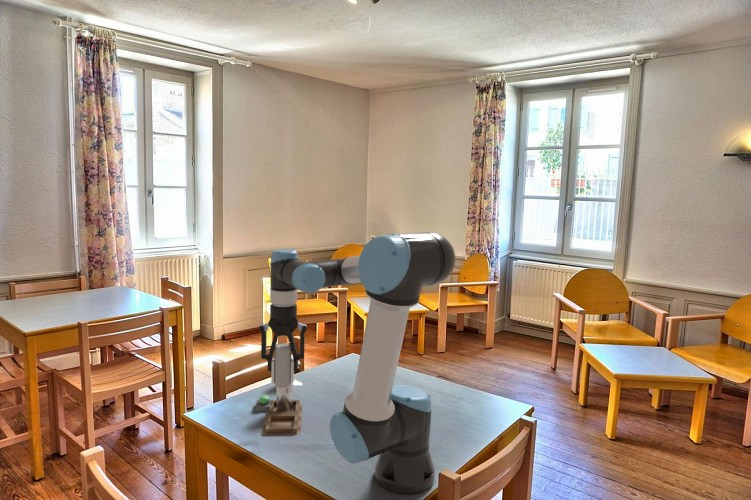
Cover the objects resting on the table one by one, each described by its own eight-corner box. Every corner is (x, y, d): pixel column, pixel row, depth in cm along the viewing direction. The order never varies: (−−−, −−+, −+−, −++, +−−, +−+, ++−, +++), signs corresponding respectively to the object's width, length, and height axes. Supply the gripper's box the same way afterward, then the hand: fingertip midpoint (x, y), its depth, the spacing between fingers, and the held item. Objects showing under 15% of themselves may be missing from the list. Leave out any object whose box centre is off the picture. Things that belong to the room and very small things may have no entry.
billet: (292, 414, 158) (292, 377, 156) (275, 414, 157) (276, 377, 155) (292, 407, 163) (293, 371, 161) (277, 407, 162) (277, 371, 160)
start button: (268, 403, 160) (269, 399, 160) (258, 403, 160) (258, 399, 159) (269, 399, 163) (270, 395, 163) (259, 399, 163) (259, 395, 163)
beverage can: (294, 385, 149) (294, 345, 147) (280, 389, 145) (281, 349, 143) (284, 380, 152) (284, 341, 150) (270, 384, 148) (271, 345, 147)
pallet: (300, 439, 146) (300, 429, 146) (248, 440, 144) (248, 430, 144) (302, 408, 166) (302, 399, 165) (257, 408, 164) (257, 399, 164)
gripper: (315, 300, 150) (313, 376, 153) (253, 300, 148) (253, 376, 151) (315, 307, 142) (313, 386, 146) (250, 306, 140) (249, 386, 143)
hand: (282, 381), depth 148 cm, fingers closed on beverage can, 5 cm apart
